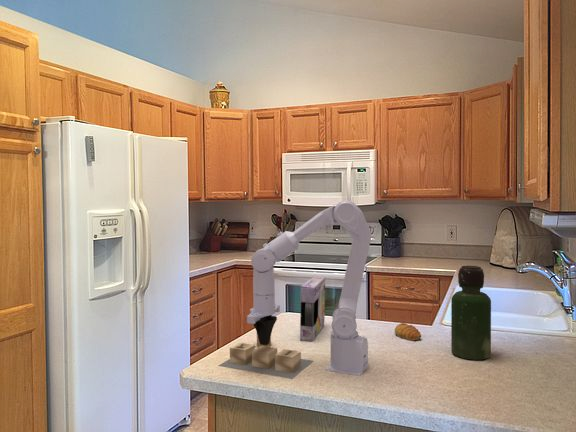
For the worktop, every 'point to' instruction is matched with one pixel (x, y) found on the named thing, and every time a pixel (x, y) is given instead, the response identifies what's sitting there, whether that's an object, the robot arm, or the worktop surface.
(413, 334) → the pastry
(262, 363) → the plain block
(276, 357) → the block one
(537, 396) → the worktop surface
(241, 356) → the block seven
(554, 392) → the worktop surface
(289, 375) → the tap mat
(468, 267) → the green bottle
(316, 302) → the cake pan box
